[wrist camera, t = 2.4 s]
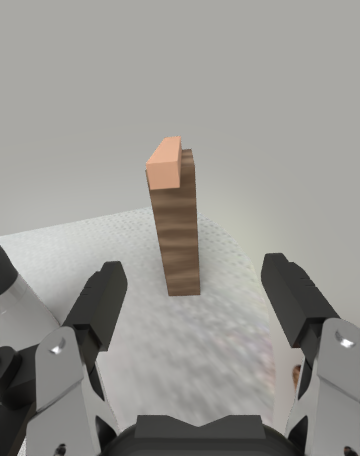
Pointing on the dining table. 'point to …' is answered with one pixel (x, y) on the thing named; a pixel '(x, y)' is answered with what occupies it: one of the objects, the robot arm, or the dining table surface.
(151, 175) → the peach-coloured block
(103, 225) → the dining table surface
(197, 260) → the stand
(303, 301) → the robot arm
